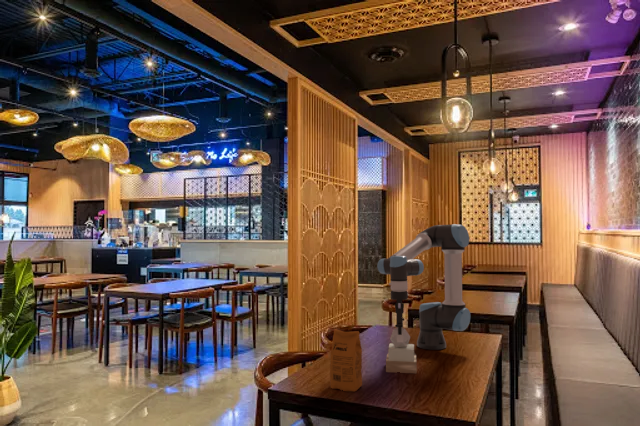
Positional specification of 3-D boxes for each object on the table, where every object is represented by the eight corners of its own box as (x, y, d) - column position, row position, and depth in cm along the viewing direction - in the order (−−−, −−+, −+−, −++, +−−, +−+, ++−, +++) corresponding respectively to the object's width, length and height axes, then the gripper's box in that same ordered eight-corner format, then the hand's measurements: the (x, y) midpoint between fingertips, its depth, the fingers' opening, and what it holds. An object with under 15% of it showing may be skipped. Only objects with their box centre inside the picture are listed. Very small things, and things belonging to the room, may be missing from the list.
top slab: (389, 354, 205) (389, 343, 206) (414, 355, 203) (414, 344, 203) (388, 360, 195) (388, 349, 195) (414, 361, 192) (414, 350, 193)
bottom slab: (387, 364, 206) (387, 353, 207) (416, 366, 204) (416, 354, 204) (386, 372, 194) (385, 361, 194) (416, 374, 191) (416, 362, 191)
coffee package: (337, 381, 181) (337, 326, 183) (365, 386, 175) (364, 329, 177) (325, 388, 173) (325, 331, 174) (354, 393, 167) (353, 334, 168)
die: (405, 351, 193) (415, 332, 196) (388, 341, 194) (398, 322, 197) (402, 353, 200) (411, 334, 203) (385, 343, 202) (394, 324, 205)
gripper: (391, 287, 213) (392, 332, 211) (389, 293, 188) (390, 344, 187) (407, 287, 211) (408, 333, 210) (408, 293, 187) (409, 345, 186)
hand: (400, 338), depth 199 cm, fingers open, 13 cm apart
